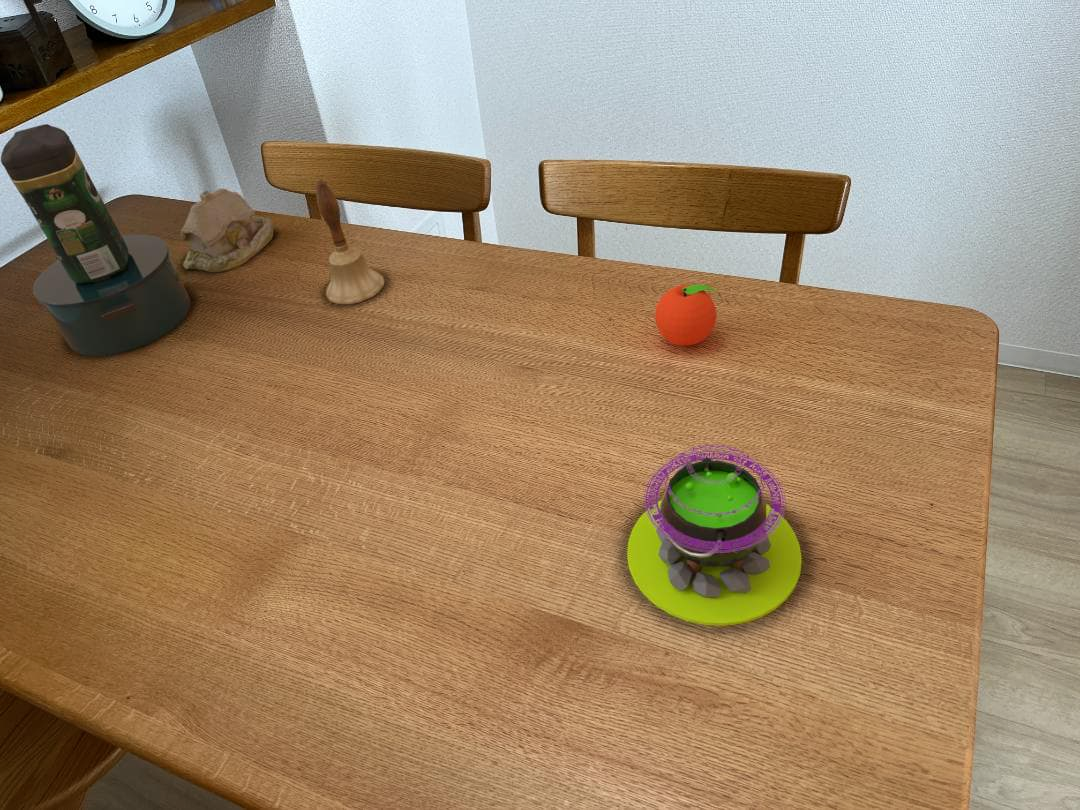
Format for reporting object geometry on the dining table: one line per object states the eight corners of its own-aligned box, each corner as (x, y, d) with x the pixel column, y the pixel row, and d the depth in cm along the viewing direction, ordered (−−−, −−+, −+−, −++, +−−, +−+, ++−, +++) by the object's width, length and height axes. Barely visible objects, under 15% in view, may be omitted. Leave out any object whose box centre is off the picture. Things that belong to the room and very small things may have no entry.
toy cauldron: (623, 495, 78) (615, 409, 70) (783, 484, 76) (791, 395, 69) (631, 630, 66) (623, 544, 59) (819, 621, 65) (834, 532, 57)
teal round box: (73, 380, 105) (38, 326, 99) (59, 311, 119) (28, 260, 113) (206, 328, 110) (180, 274, 105) (178, 268, 125) (154, 218, 119)
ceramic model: (218, 280, 120) (191, 219, 114) (172, 265, 125) (143, 207, 119) (287, 235, 128) (265, 176, 122) (241, 223, 134) (218, 166, 127)
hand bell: (314, 296, 113) (275, 191, 103) (355, 267, 118) (322, 164, 107) (355, 310, 109) (319, 202, 98) (396, 279, 113) (366, 173, 103)
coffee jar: (71, 260, 112) (-4, 130, 100) (130, 243, 113) (63, 113, 101) (69, 293, 105) (-12, 156, 93) (132, 274, 106) (60, 138, 94)
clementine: (707, 314, 98) (707, 263, 93) (735, 344, 93) (737, 292, 88) (646, 332, 97) (643, 282, 92) (671, 364, 92) (670, 312, 87)
